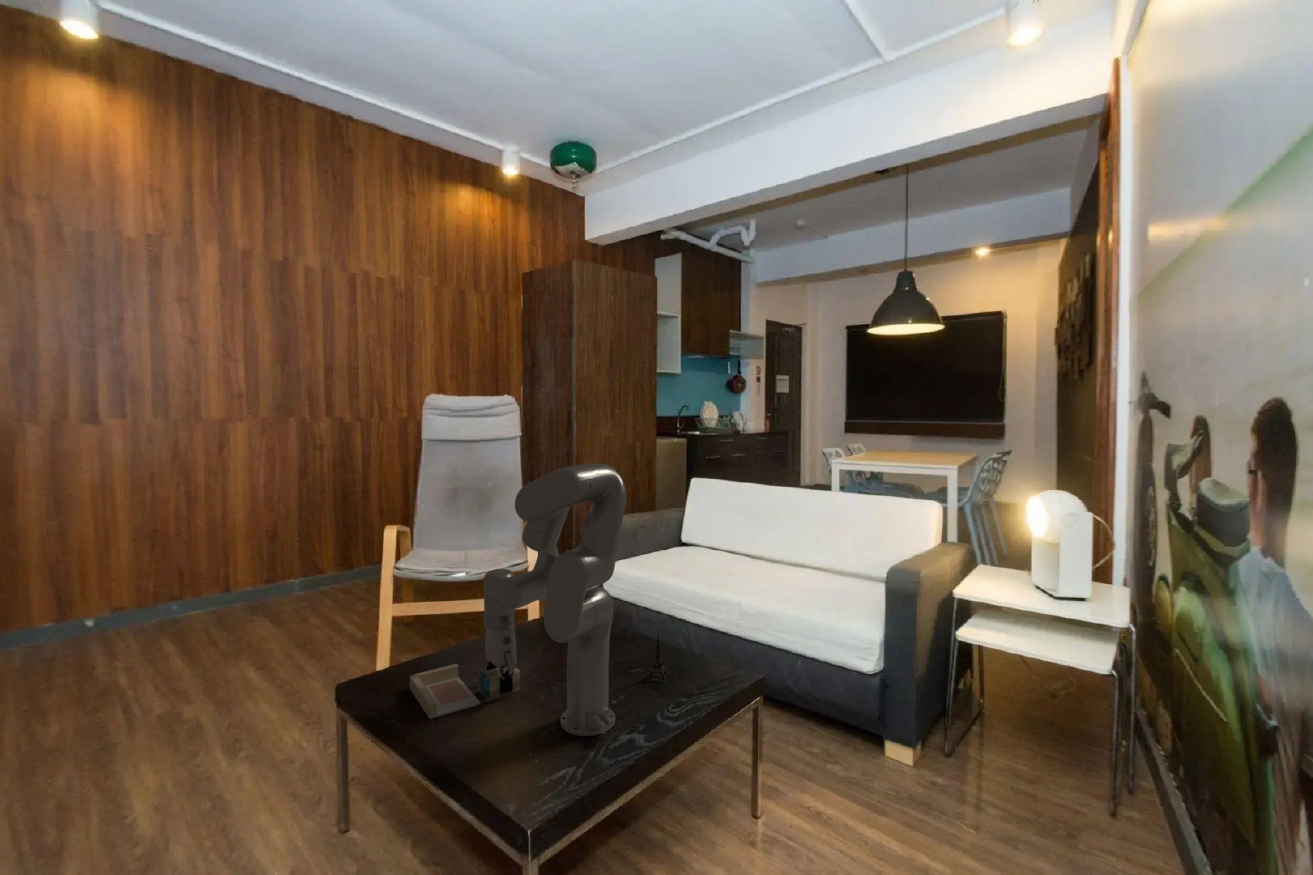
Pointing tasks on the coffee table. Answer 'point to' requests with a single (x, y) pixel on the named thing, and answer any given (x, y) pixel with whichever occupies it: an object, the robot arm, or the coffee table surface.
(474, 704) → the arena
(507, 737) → the coffee table surface
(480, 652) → the coffee table surface
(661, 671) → the eiffel tower figurine
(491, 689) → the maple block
